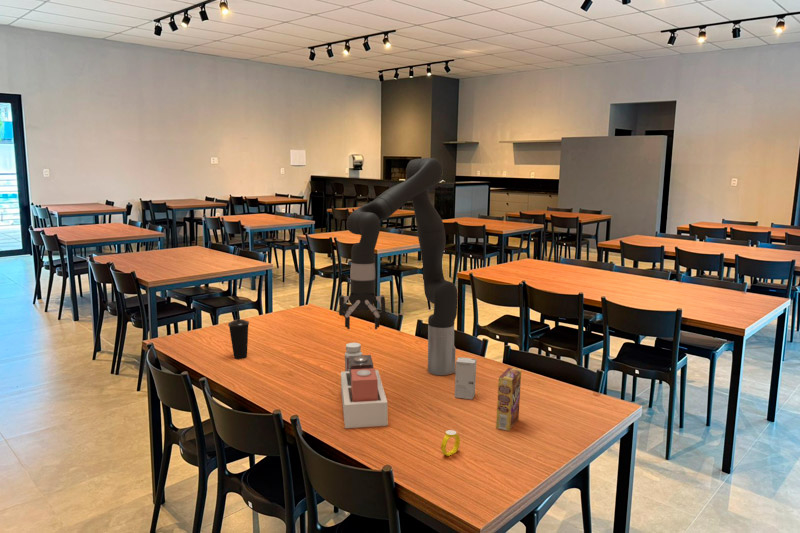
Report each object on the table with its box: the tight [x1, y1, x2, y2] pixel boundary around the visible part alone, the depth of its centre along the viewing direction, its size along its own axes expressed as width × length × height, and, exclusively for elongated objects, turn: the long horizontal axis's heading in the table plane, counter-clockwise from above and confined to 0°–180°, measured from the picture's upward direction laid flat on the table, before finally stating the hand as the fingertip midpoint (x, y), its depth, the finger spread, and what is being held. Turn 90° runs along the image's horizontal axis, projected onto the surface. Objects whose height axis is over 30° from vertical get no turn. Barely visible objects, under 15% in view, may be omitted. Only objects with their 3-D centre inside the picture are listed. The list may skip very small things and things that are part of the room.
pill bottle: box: [344, 342, 363, 372], centre depth 197 cm, size 6×6×11 cm
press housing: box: [340, 369, 389, 429], centre depth 171 cm, size 12×26×7 cm, turn 8°
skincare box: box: [454, 357, 477, 400], centre depth 179 cm, size 6×4×12 cm
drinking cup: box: [227, 306, 250, 360], centre depth 216 cm, size 8×8×20 cm
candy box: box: [495, 367, 522, 432], centre depth 159 cm, size 9×4×15 cm, turn 152°
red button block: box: [351, 367, 378, 402], centre depth 164 cm, size 7×9×8 cm
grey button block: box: [349, 354, 374, 386], centre depth 176 cm, size 7×9×8 cm
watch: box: [440, 429, 461, 457], centre depth 144 cm, size 6×3×6 cm, turn 136°
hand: (362, 328), depth 175 cm, fingers open, 8 cm apart
